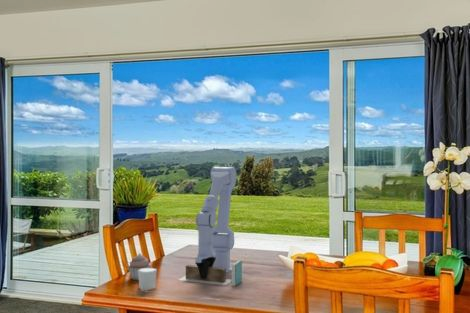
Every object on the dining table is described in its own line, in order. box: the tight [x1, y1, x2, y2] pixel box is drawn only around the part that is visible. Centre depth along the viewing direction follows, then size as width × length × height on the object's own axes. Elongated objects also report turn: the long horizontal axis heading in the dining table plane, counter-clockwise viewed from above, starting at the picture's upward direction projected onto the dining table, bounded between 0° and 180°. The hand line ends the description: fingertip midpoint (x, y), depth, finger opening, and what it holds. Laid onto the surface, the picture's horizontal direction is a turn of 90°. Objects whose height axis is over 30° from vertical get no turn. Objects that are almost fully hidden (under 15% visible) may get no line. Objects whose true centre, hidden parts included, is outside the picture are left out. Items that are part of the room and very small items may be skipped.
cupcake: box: [127, 253, 152, 281], centre depth 187 cm, size 9×9×10 cm
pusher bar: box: [185, 264, 227, 283], centre depth 184 cm, size 16×2×5 cm, turn 70°
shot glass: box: [138, 267, 158, 292], centre depth 173 cm, size 7×7×7 cm
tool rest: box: [178, 275, 232, 286], centre depth 184 cm, size 20×8×1 cm, turn 70°
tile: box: [231, 260, 243, 287], centre depth 179 cm, size 2×7×8 cm, turn 160°
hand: (205, 277), depth 184 cm, fingers open, 3 cm apart
